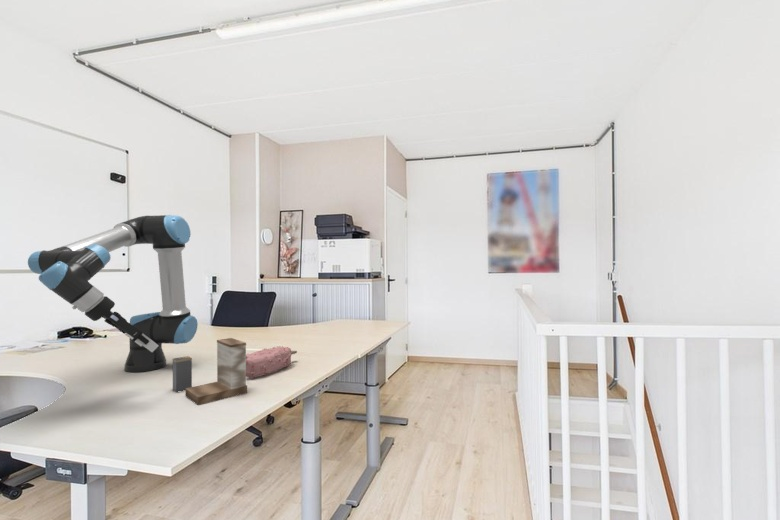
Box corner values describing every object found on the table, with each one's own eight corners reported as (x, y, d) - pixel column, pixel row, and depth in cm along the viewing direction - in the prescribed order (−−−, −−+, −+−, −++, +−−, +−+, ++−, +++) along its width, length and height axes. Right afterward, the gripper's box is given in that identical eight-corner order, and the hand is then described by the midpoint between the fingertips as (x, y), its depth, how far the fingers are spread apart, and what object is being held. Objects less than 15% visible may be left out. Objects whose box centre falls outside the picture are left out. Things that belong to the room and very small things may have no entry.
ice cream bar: (306, 343, 172) (254, 359, 145) (306, 363, 171) (254, 382, 145) (284, 341, 177) (230, 355, 151) (284, 360, 177) (230, 377, 151)
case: (176, 392, 133) (176, 360, 133) (172, 389, 136) (172, 358, 136) (191, 389, 137) (191, 358, 137) (188, 386, 140) (188, 356, 140)
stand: (198, 405, 121) (198, 350, 121) (185, 395, 130) (185, 344, 130) (247, 392, 133) (247, 342, 133) (232, 384, 141) (232, 337, 141)
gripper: (77, 310, 126) (131, 349, 136) (90, 317, 108) (150, 361, 119) (97, 293, 130) (148, 332, 140) (113, 297, 112) (169, 341, 122)
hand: (149, 346), depth 129 cm, fingers open, 13 cm apart
